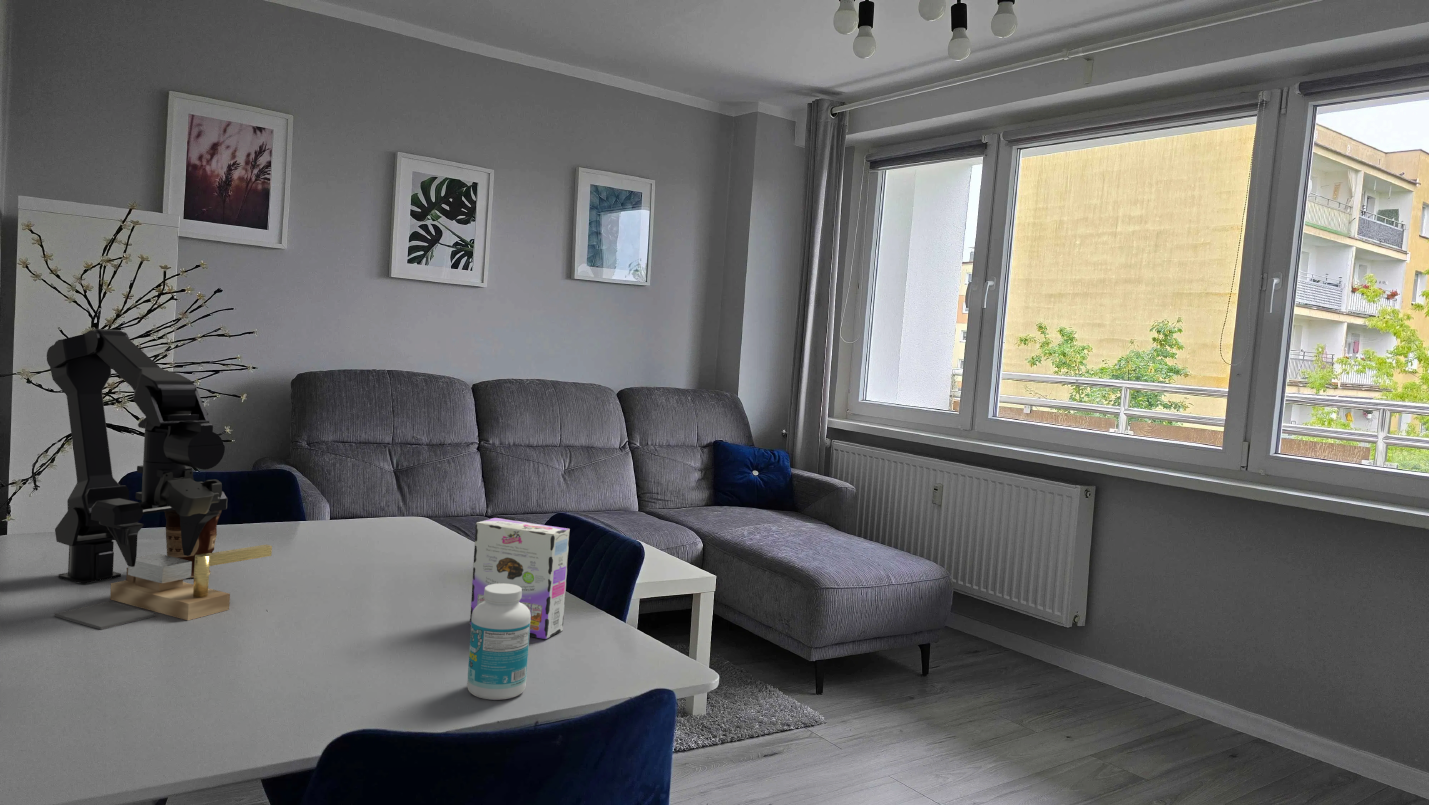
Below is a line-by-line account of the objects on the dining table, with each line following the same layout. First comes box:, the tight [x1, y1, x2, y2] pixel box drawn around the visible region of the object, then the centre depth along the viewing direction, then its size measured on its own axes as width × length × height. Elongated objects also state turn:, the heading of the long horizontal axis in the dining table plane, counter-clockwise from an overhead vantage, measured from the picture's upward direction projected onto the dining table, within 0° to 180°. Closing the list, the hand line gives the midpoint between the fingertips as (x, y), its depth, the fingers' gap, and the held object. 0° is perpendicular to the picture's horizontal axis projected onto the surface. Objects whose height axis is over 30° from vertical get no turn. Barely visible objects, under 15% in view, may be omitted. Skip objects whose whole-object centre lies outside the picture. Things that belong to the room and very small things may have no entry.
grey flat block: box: [127, 553, 192, 583], centre depth 145 cm, size 8×5×2 cm, turn 67°
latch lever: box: [192, 544, 273, 597], centre depth 146 cm, size 12×2×6 cm, turn 150°
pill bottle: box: [466, 583, 531, 701], centre depth 121 cm, size 8×7×14 cm
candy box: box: [469, 517, 571, 640], centre depth 147 cm, size 14×6×16 cm, turn 71°
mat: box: [54, 600, 156, 631], centre depth 137 cm, size 10×8×1 cm
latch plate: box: [109, 567, 231, 621], centre depth 145 cm, size 17×7×4 cm, turn 67°
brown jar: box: [163, 510, 223, 578], centre depth 161 cm, size 9×8×13 cm
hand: (159, 560), depth 145 cm, fingers open, 9 cm apart
